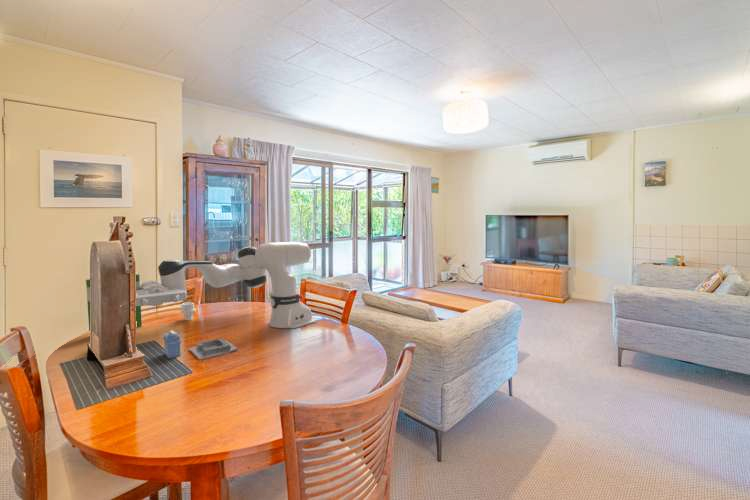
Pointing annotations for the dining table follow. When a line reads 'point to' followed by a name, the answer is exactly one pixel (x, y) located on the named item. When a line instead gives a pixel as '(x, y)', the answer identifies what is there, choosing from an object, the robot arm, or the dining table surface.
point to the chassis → (212, 348)
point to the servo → (172, 344)
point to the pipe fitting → (188, 310)
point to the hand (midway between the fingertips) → (162, 301)
